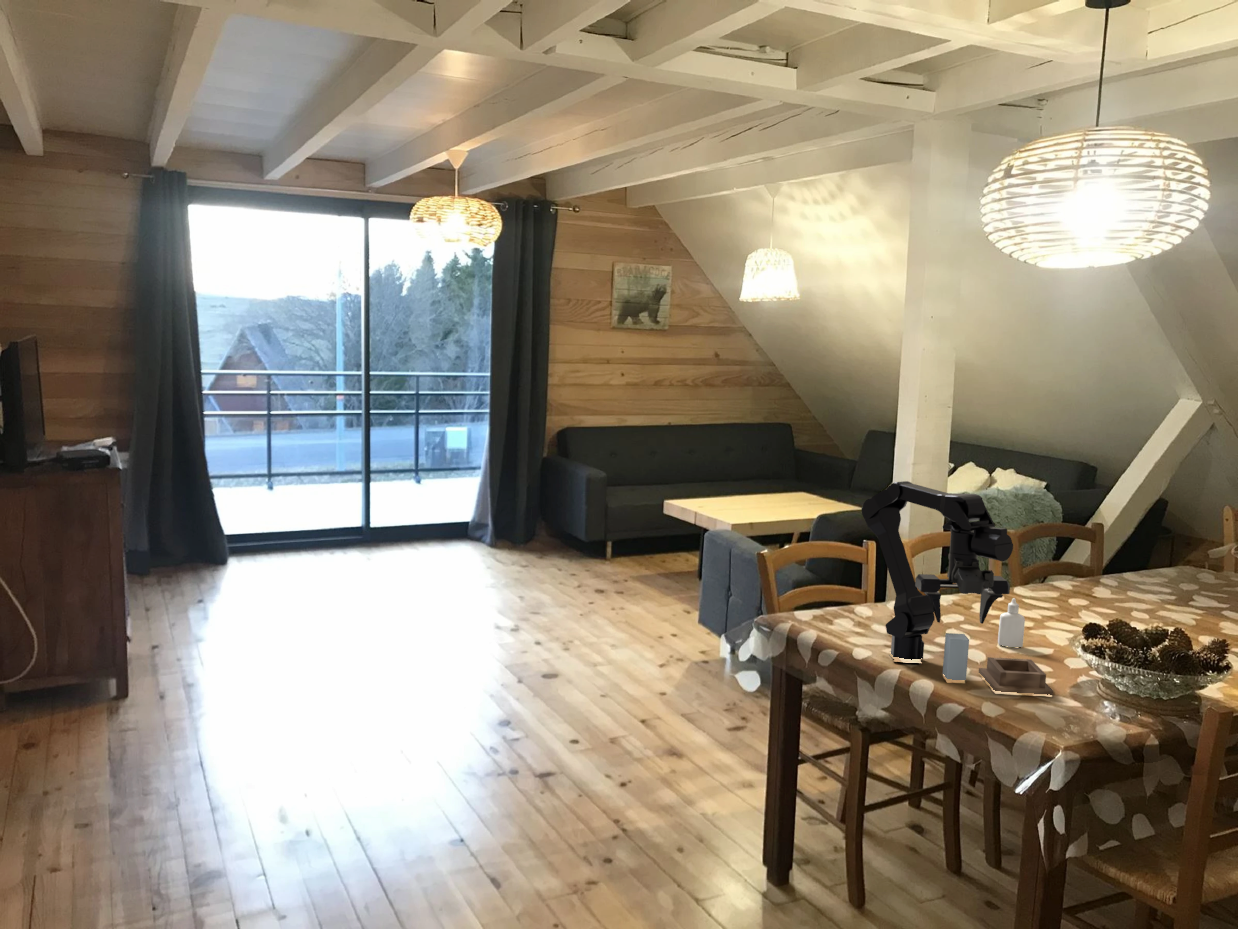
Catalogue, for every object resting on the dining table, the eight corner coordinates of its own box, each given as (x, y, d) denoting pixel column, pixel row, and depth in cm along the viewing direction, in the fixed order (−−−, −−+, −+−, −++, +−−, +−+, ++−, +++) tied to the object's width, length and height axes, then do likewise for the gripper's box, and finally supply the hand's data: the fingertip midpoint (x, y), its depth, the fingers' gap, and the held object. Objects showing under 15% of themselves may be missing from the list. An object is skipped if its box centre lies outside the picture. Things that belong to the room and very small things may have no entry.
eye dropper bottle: (1002, 641, 241) (1006, 594, 239) (1025, 647, 237) (1029, 599, 235) (994, 645, 238) (998, 597, 236) (1017, 651, 234) (1021, 602, 232)
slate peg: (946, 683, 211) (950, 638, 210) (942, 676, 215) (945, 633, 214) (965, 684, 211) (969, 639, 210) (960, 677, 215) (964, 634, 214)
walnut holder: (994, 694, 205) (996, 674, 205) (978, 674, 217) (979, 655, 216) (1052, 697, 204) (1054, 677, 204) (1033, 677, 216) (1035, 657, 216)
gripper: (929, 559, 202) (925, 632, 204) (1021, 561, 201) (1016, 634, 203) (916, 548, 213) (913, 617, 215) (1002, 550, 212) (998, 619, 214)
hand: (959, 622), depth 211 cm, fingers open, 9 cm apart
